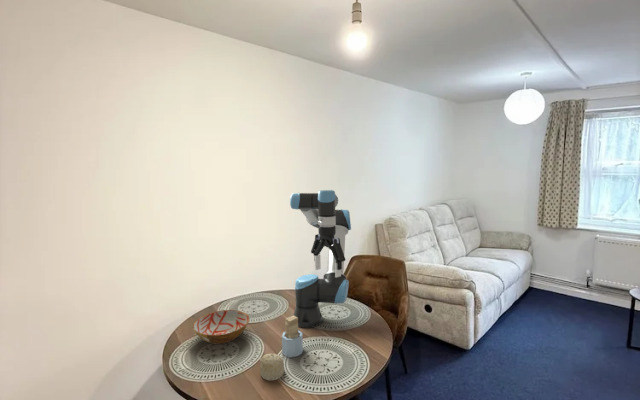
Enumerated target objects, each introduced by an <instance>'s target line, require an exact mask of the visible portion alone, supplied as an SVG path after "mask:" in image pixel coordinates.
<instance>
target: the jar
mask: <svg viewBox="0 0 640 400" xmlns="http://www.w3.org/2000/svg"><path fill="white" fill-rule="evenodd" d="M303 338H304V337H303V332H302V331H300V330H299V329H298V337H297V338H294V339H291V338H286V330H285V331H283V332H282V335H281V352H282V355H283V356H284V357H287V358H297V357H299V356H301V355H302V354H303V352H304V344H303V343H304V339H303Z"/></svg>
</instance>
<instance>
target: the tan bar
mask: <svg viewBox="0 0 640 400" xmlns="http://www.w3.org/2000/svg"><path fill="white" fill-rule="evenodd" d="M284 321H285V322H284V323H285V325H284V327H285V331H286V338H291V339H294V338H297V337H298V330H299V326H298V317H296V316H293V315H292V316H288V317H286V318H285V319H284Z"/></svg>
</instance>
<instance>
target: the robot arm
mask: <svg viewBox="0 0 640 400" xmlns="http://www.w3.org/2000/svg"><path fill="white" fill-rule="evenodd" d="M338 204H339V197H338V196H337V194H336V191H335V190H333V189H329V190H328V189H323V190H322V189H321V190H319V191H318V192H316V193H315V192H313V193H310V192H309V193H308V192H304V193H303V192H298V193H291V195H290V199H289V205H290V208H291V209H292V210H299V211H300V212H301V213H302V214H303V215H304V216H305V219H306V221H307V224H309V225H311V226H312V227H314V228H316V229H318V233H317V234H315V235H314V241H313V244H312V248H311V250H310V253H311V254H313V256H314V257H313V258H314V259H313V260H314V270H315V271H318V270H321V269H322V267H321V252H322V250H323V249H324V247H326V248H328V255H327V256H328V257H327V266H326V272H325V273H323V276H322V277H323V278H319V276H318V275H317V274H313V273H312V274H311V273H310V274H305V275H304V274H303V275H301V276H299V277H297V278H296V280H295V283H294V284H295V286H294V289H295V291H294V292H295V293H294V294H295V309H294V313H293V315H292V316H296V317H298V328H305V329H306V328H313V327H317V326H319V325H320V324H322V322H323V314H322V311H321V309H320V306H319V303H324V304H335V305H336V304H344V303H345V302H346V301H347V298H348V293H349V283H350V282H349V280H348V279H347V276H346V275H345V274H344V266H345V261H346V257H345V248H346V235H348V234H349V231H351V230H352V224H351V216H350V211H349V209H336V207H337V206H338Z"/></svg>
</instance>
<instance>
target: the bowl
mask: <svg viewBox="0 0 640 400" xmlns="http://www.w3.org/2000/svg"><path fill="white" fill-rule="evenodd" d="M249 322H250V316H249V315H248V314H247V313H246V312H244V311H241V310H238V309H237V310H236V309H226V310H217V311H213V312H210V313H207V314H205V315H202V316H201V317H199V318H197V319H196V320H195V321H194V323H192V329H193V331H194V333H195V334H196V335H197V336H198V338H200V340H203V341H205V343H209V344H213V345H224V343H225V344H228V343H230V342H232V341H234V340H235V339H237V338H238V337H240V336H241V335H242V333H243V332H244V331H245V330H246V328H247V326H248V324H249Z"/></svg>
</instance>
